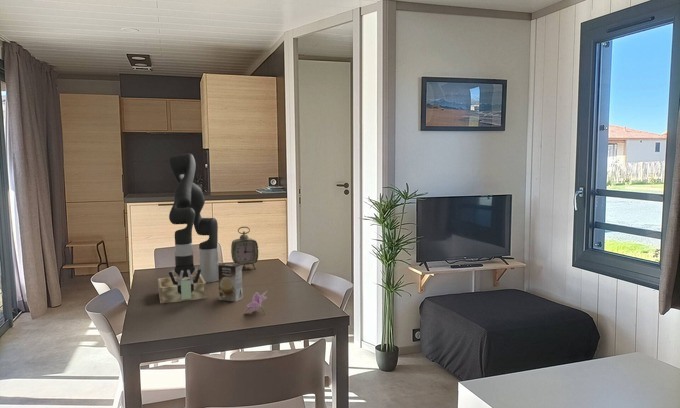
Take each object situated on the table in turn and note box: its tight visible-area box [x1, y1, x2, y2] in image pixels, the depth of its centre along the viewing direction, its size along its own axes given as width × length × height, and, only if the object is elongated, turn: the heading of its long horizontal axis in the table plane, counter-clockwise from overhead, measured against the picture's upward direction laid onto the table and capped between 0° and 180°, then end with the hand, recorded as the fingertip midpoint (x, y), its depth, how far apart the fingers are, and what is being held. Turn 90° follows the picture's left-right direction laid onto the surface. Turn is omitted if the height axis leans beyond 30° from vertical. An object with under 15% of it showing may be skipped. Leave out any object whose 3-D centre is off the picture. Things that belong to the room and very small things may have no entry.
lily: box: [243, 290, 268, 315], centre depth 208 cm, size 12×12×10 cm
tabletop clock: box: [230, 226, 259, 270], centre depth 295 cm, size 14×9×25 cm, turn 111°
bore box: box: [157, 274, 208, 304], centre depth 238 cm, size 20×20×7 cm
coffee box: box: [218, 262, 243, 302], centre depth 230 cm, size 9×6×16 cm
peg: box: [181, 278, 191, 300], centre depth 220 cm, size 4×4×8 cm
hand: (185, 292), depth 221 cm, fingers closed on peg, 4 cm apart
